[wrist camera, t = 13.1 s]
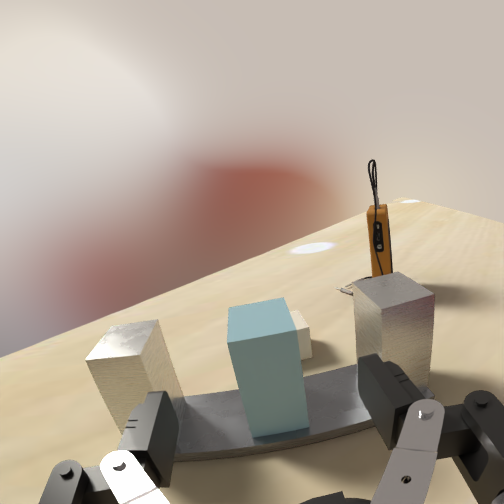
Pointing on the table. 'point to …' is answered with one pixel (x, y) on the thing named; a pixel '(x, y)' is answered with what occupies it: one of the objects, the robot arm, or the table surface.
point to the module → (268, 367)
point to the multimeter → (377, 235)
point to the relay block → (302, 335)
